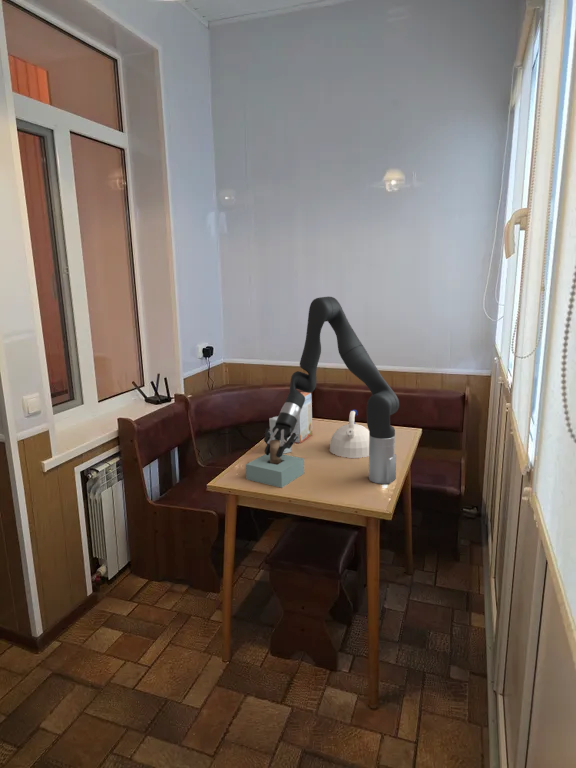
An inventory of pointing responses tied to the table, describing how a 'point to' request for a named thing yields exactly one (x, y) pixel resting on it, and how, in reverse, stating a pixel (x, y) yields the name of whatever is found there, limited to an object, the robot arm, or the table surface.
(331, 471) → the table surface
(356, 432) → the kettle
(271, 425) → the skincare box
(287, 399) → the robot arm
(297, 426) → the cracker box
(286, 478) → the slate bore block
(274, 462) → the walnut pin
